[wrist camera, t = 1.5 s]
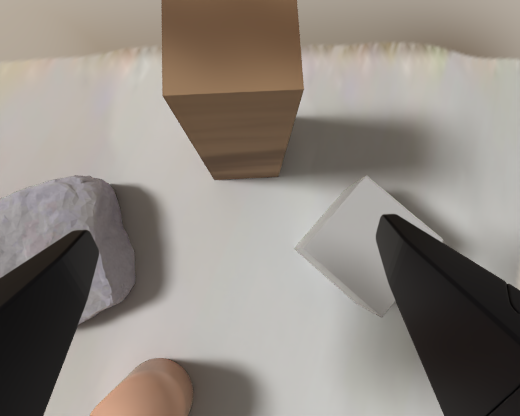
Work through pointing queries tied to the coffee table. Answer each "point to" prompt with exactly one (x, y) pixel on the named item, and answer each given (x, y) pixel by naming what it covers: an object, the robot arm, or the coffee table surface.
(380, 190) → the grey faceted block
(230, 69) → the walnut block
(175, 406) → the terracotta puck
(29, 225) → the stone block
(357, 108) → the coffee table surface
